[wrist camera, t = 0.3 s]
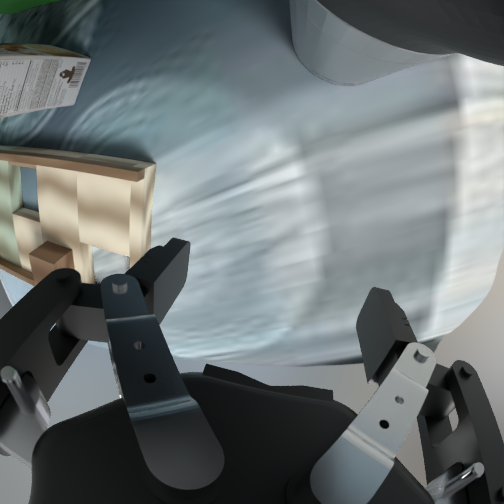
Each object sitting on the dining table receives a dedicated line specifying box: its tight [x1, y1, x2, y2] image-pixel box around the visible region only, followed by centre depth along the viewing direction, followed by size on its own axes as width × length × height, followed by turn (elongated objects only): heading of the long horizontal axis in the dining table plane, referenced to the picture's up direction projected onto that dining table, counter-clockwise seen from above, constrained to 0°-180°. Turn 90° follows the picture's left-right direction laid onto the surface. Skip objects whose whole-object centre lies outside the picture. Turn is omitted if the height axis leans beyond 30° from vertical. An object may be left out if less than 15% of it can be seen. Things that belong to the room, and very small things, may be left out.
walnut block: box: [28, 241, 75, 286], centre depth 32 cm, size 5×5×4 cm
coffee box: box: [0, 43, 91, 118], centre depth 18 cm, size 9×6×16 cm
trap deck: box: [0, 145, 156, 286], centre depth 32 cm, size 20×31×6 cm, turn 78°
